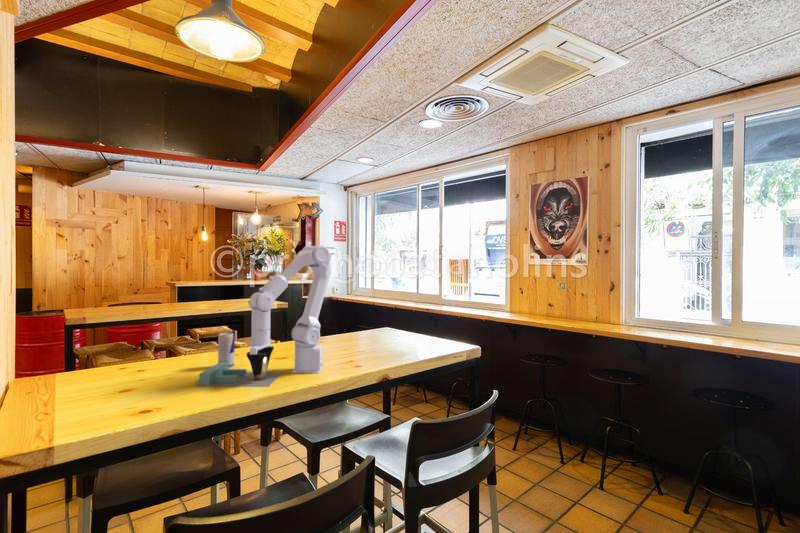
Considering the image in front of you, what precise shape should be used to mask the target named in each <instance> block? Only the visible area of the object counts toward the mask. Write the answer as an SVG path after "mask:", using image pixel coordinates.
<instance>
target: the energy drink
mask: <svg viewBox="0 0 800 533" xmlns="http://www.w3.org/2000/svg"><path fill="white" fill-rule="evenodd" d="M235 337H236V336H235V333H234V332H221V333H219V334H218V338H217V339H218V340H217V344H218V345H217V364H218V363H219V362H228V369H233V368H234V367H235V343H236V342H235V339H236V338H235Z"/></svg>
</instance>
